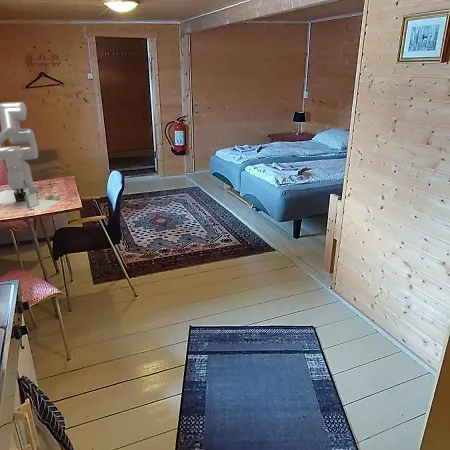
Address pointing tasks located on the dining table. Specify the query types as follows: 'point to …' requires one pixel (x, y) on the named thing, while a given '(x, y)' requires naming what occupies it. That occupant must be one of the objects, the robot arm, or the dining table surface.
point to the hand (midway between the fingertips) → (21, 198)
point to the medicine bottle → (24, 195)
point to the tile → (31, 200)
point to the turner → (52, 197)
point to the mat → (41, 204)
